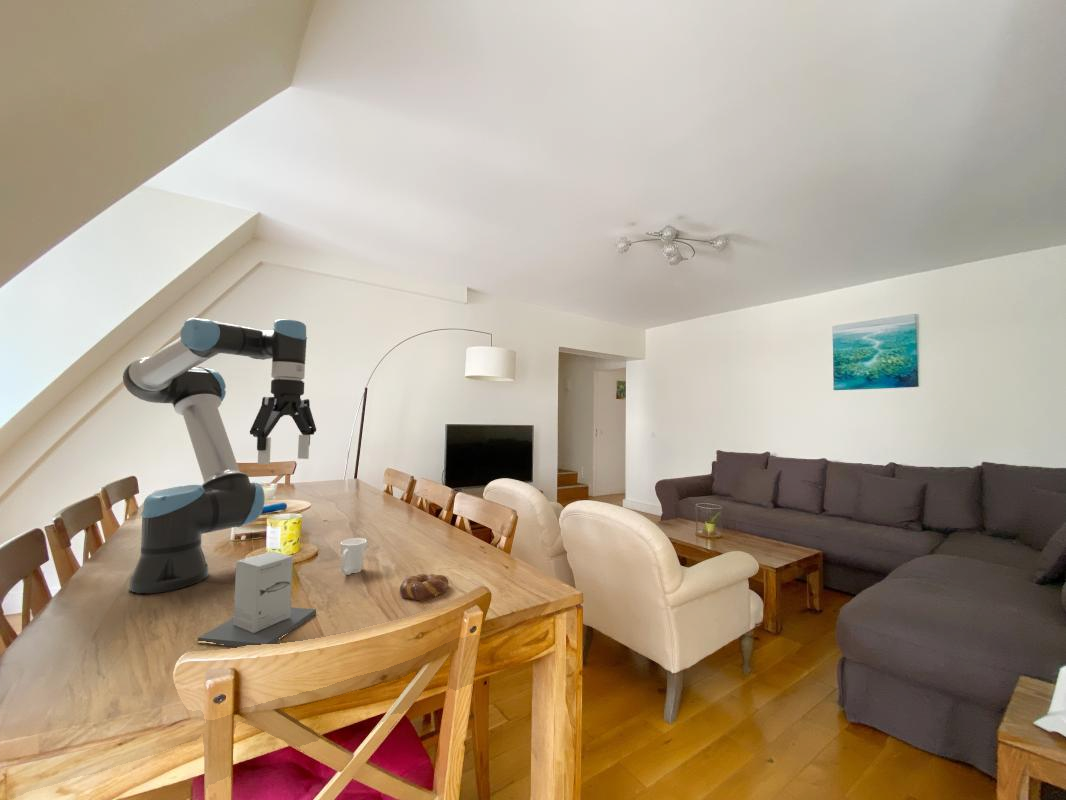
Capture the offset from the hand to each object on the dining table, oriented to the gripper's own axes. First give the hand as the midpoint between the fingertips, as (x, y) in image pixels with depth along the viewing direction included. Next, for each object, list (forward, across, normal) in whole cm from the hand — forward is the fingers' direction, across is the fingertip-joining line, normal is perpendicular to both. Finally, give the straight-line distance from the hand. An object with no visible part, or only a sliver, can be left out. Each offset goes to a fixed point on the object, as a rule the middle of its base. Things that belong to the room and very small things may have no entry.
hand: (284, 461), depth 109 cm
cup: (+31, +8, -15) cm, 35 cm away
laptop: (+30, -22, -15) cm, 40 cm away
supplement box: (+29, -22, -15) cm, 39 cm away
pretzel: (+30, +1, -39) cm, 50 cm away
